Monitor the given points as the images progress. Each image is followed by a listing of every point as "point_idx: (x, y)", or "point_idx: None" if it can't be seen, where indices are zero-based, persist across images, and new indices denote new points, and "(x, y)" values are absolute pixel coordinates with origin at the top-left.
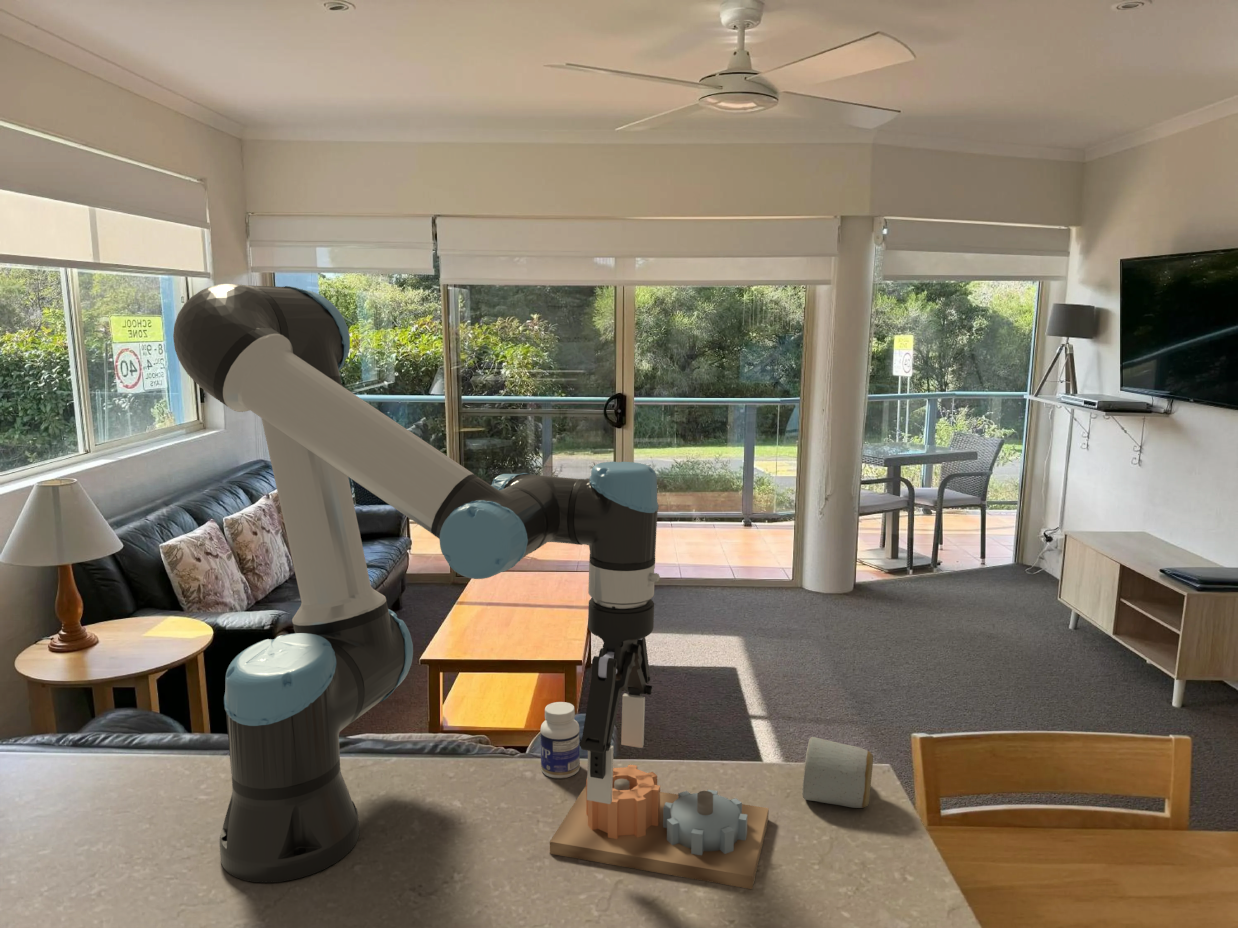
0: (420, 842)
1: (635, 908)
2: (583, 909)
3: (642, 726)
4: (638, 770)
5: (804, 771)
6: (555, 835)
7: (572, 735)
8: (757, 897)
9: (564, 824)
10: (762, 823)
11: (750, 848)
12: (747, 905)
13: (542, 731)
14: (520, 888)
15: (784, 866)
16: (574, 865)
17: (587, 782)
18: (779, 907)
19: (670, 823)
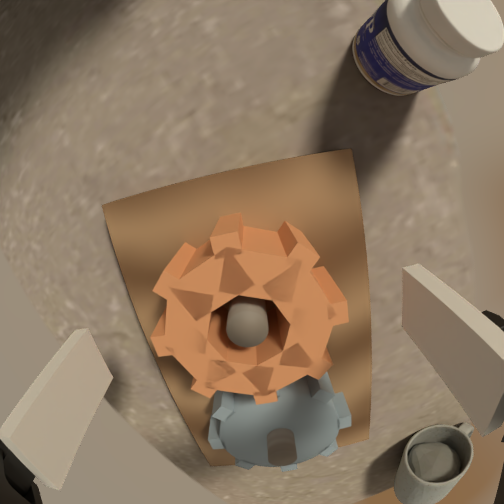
0: (59, 13)
1: None
2: (54, 316)
3: (432, 365)
4: (325, 336)
5: (412, 474)
6: (122, 202)
7: (429, 69)
8: (202, 458)
9: (163, 195)
10: None
11: None
12: (183, 454)
13: None
14: (33, 217)
15: None
16: (110, 258)
17: (54, 356)
18: (200, 471)
19: (214, 411)
